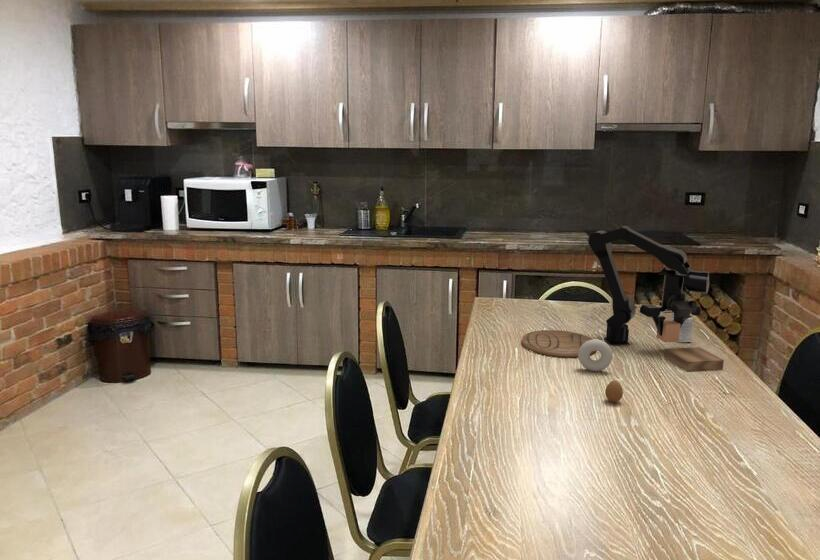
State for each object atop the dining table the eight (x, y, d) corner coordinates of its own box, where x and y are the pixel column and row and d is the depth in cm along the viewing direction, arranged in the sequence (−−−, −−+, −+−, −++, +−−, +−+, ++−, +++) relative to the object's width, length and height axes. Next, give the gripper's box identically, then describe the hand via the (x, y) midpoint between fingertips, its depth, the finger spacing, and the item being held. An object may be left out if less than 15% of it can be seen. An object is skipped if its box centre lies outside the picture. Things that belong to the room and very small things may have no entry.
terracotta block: (664, 342, 206) (666, 324, 205) (656, 337, 211) (658, 320, 210) (678, 341, 207) (680, 324, 206) (670, 336, 212) (671, 319, 210)
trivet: (590, 336, 225) (590, 331, 225) (604, 361, 201) (605, 355, 200) (519, 333, 227) (519, 328, 227) (524, 357, 203) (524, 351, 203)
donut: (577, 371, 191) (579, 339, 188) (576, 367, 194) (579, 336, 192) (611, 374, 188) (614, 342, 186) (610, 370, 192) (613, 339, 190)
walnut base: (686, 371, 192) (687, 361, 191) (664, 357, 204) (665, 348, 203) (722, 369, 194) (723, 360, 193) (698, 356, 205) (699, 347, 205)
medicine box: (690, 343, 219) (693, 318, 217) (677, 342, 219) (680, 318, 217) (681, 335, 226) (684, 312, 224) (669, 335, 226) (671, 312, 224)
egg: (600, 399, 170) (602, 378, 169) (614, 397, 172) (616, 376, 171) (611, 406, 166) (613, 384, 165) (625, 404, 168) (627, 382, 167)
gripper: (659, 295, 196) (654, 344, 199) (714, 294, 199) (708, 341, 202) (641, 287, 207) (636, 333, 210) (693, 285, 210) (688, 331, 213)
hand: (667, 335), depth 209 cm, fingers closed on terracotta block, 5 cm apart
